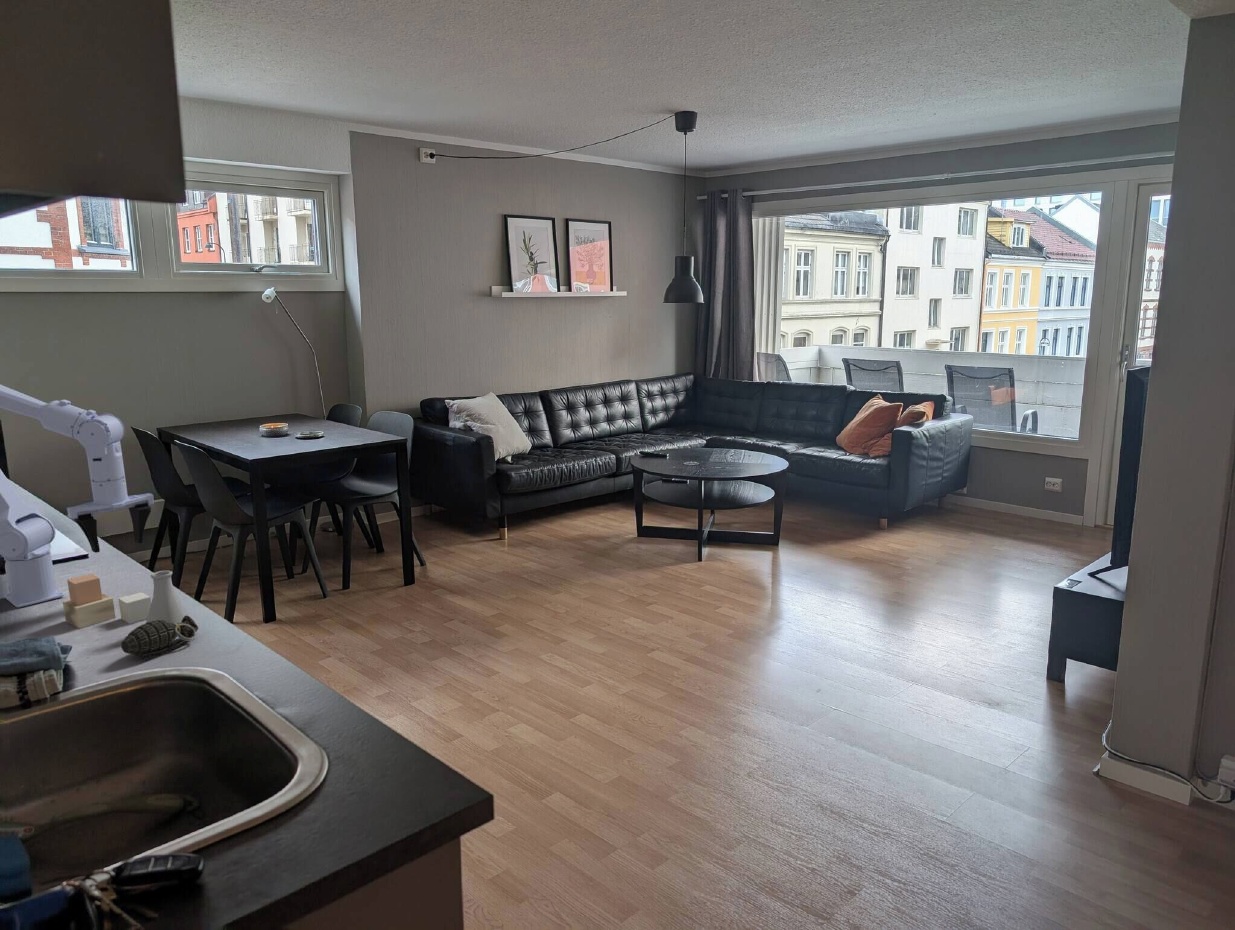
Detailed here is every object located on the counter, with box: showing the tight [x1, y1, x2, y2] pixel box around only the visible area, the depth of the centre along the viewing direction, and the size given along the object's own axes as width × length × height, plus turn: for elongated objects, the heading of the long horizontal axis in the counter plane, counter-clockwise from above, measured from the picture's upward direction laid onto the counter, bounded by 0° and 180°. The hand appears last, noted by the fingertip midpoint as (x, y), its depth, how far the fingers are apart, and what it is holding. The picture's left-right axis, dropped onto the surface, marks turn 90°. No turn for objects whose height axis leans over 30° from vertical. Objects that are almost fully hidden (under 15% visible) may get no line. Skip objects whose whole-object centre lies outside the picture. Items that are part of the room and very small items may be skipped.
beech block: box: [62, 593, 116, 629], centre depth 155 cm, size 6×6×4 cm
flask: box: [145, 570, 190, 624], centre depth 150 cm, size 7×7×10 cm
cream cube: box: [118, 591, 152, 625], centre depth 155 cm, size 4×4×4 cm
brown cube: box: [66, 573, 103, 605], centre depth 154 cm, size 4×4×4 cm
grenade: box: [120, 615, 199, 660], centre depth 141 cm, size 6×5×12 cm
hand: (117, 546), depth 165 cm, fingers open, 7 cm apart
